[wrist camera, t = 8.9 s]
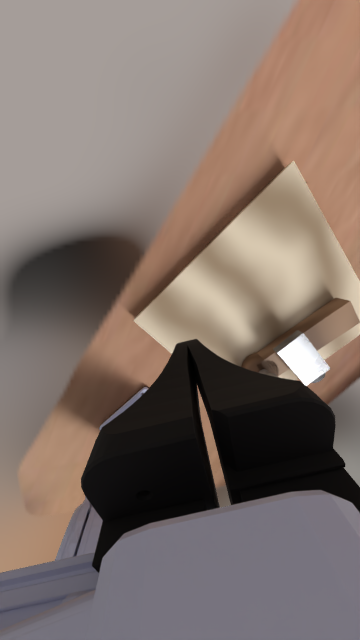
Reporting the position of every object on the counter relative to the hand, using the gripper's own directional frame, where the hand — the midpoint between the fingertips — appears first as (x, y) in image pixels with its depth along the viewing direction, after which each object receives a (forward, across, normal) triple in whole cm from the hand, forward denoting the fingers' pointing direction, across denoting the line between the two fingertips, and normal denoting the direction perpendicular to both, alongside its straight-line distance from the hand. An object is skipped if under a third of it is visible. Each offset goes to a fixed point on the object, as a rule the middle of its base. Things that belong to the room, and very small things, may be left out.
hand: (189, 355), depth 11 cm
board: (+9, -9, +3) cm, 13 cm away
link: (+8, -12, +6) cm, 15 cm away
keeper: (+8, -11, +7) cm, 16 cm away
